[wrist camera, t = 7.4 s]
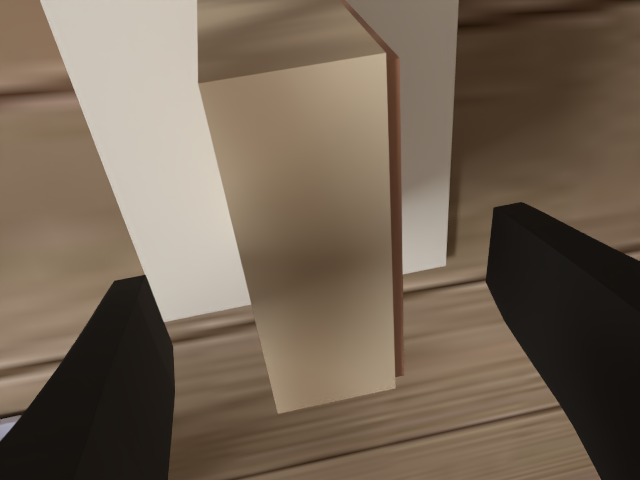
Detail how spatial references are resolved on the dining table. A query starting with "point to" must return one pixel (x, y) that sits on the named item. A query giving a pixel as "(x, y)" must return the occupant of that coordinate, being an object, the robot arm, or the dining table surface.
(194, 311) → the mat
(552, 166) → the dining table surface
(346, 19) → the tan wooden block
